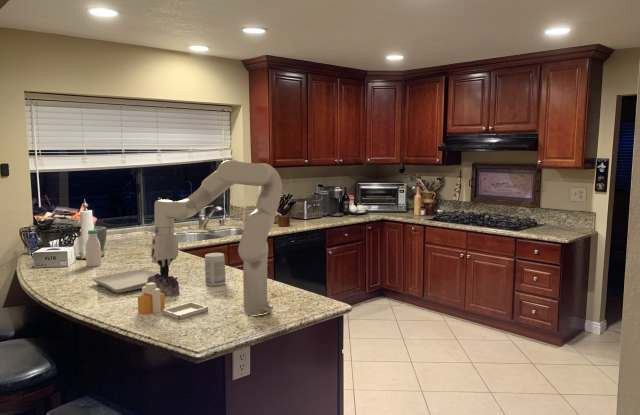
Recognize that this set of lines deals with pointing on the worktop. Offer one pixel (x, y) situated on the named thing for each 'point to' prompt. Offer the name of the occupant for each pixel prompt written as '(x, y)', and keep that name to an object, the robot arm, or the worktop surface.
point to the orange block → (148, 303)
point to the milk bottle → (93, 249)
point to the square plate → (125, 280)
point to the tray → (185, 310)
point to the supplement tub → (215, 269)
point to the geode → (165, 284)
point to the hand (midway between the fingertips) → (164, 275)
